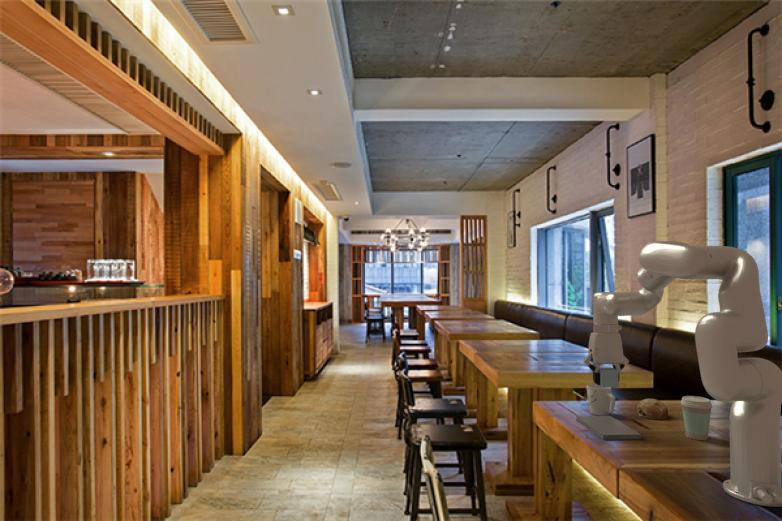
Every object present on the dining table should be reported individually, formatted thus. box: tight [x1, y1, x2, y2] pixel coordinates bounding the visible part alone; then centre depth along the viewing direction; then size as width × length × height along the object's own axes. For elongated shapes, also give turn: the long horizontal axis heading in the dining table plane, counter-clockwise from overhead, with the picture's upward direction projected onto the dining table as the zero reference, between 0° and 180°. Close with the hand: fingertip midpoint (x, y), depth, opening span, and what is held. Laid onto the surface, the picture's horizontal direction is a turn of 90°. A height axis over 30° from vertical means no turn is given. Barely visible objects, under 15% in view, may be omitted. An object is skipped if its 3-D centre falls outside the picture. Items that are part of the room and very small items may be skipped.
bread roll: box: [636, 398, 669, 421], centre depth 179 cm, size 10×10×8 cm
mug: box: [586, 383, 616, 416], centre depth 180 cm, size 11×8×10 cm
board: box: [576, 415, 642, 441], centre depth 163 cm, size 20×12×2 cm, turn 2°
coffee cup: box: [680, 395, 713, 441], centre depth 155 cm, size 8×8×12 cm
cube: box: [593, 366, 619, 388], centre depth 164 cm, size 6×6×6 cm
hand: (606, 383), depth 164 cm, fingers closed on cube, 5 cm apart
